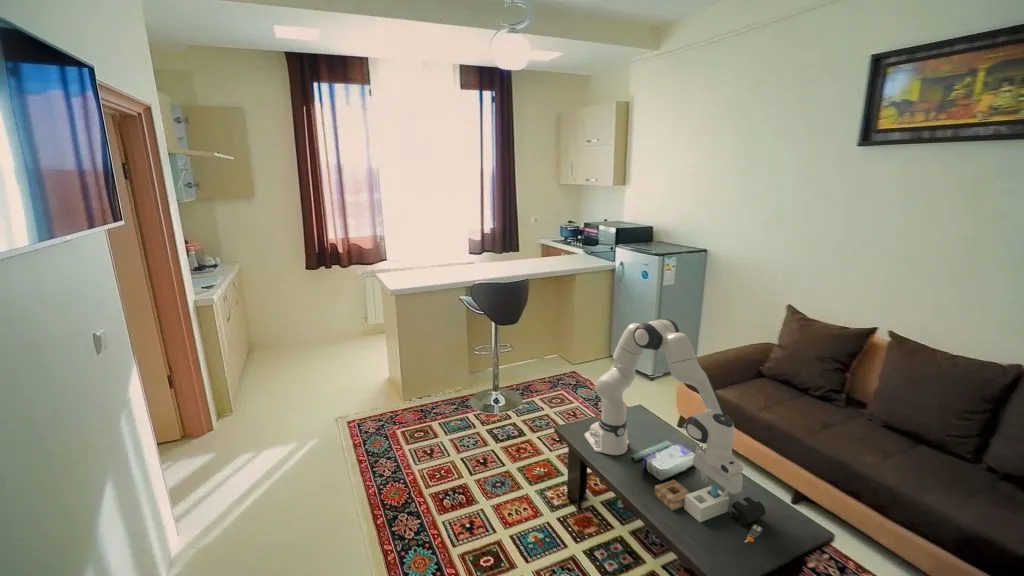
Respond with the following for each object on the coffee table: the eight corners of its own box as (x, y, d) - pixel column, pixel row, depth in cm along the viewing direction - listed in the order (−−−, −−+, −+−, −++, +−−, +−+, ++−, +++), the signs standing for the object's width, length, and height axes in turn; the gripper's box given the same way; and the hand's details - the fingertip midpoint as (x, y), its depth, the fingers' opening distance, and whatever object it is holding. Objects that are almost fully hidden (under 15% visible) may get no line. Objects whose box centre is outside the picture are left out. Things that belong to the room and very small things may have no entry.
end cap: (745, 530, 166) (748, 514, 165) (729, 517, 172) (731, 502, 171) (764, 521, 170) (766, 505, 169) (747, 509, 177) (749, 494, 175)
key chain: (752, 525, 169) (752, 522, 169) (763, 530, 167) (763, 527, 166) (739, 545, 160) (740, 541, 160) (751, 550, 158) (751, 547, 157)
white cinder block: (684, 508, 177) (685, 495, 176) (711, 498, 183) (712, 485, 181) (700, 522, 170) (701, 508, 169) (727, 511, 176) (729, 497, 174)
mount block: (654, 494, 185) (654, 486, 184) (673, 488, 189) (674, 479, 188) (672, 510, 176) (672, 501, 175) (691, 503, 180) (692, 494, 179)
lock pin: (707, 506, 178) (710, 483, 176) (712, 504, 179) (714, 481, 177) (712, 510, 176) (715, 487, 174) (717, 508, 177) (720, 485, 175)
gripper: (690, 444, 181) (687, 475, 184) (734, 474, 162) (730, 508, 166) (703, 440, 183) (699, 471, 186) (747, 469, 165) (742, 503, 168)
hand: (714, 489), depth 176 cm, fingers open, 8 cm apart
